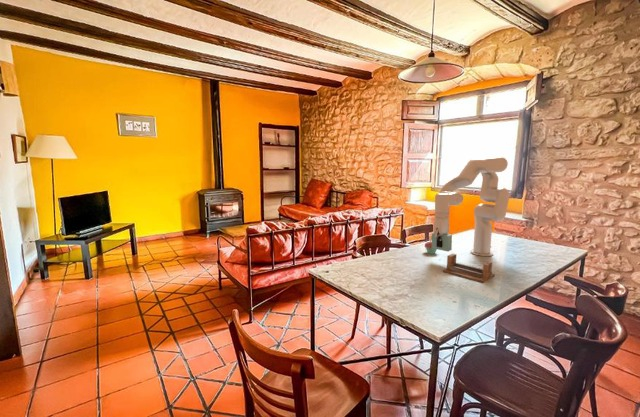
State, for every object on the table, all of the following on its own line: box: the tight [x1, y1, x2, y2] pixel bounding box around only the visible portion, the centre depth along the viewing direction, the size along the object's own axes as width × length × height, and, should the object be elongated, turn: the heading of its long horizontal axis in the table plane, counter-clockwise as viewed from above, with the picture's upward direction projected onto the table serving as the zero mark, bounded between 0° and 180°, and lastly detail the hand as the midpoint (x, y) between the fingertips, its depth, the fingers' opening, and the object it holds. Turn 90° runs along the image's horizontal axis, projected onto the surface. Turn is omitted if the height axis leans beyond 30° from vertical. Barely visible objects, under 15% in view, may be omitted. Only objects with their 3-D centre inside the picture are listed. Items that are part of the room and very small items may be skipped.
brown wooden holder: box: [442, 253, 495, 284], centre depth 154 cm, size 14×20×8 cm
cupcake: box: [424, 235, 438, 255], centre depth 190 cm, size 9×8×12 cm
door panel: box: [431, 232, 453, 252], centre depth 171 cm, size 4×10×9 cm, turn 40°
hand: (441, 245), depth 171 cm, fingers closed on door panel, 4 cm apart
